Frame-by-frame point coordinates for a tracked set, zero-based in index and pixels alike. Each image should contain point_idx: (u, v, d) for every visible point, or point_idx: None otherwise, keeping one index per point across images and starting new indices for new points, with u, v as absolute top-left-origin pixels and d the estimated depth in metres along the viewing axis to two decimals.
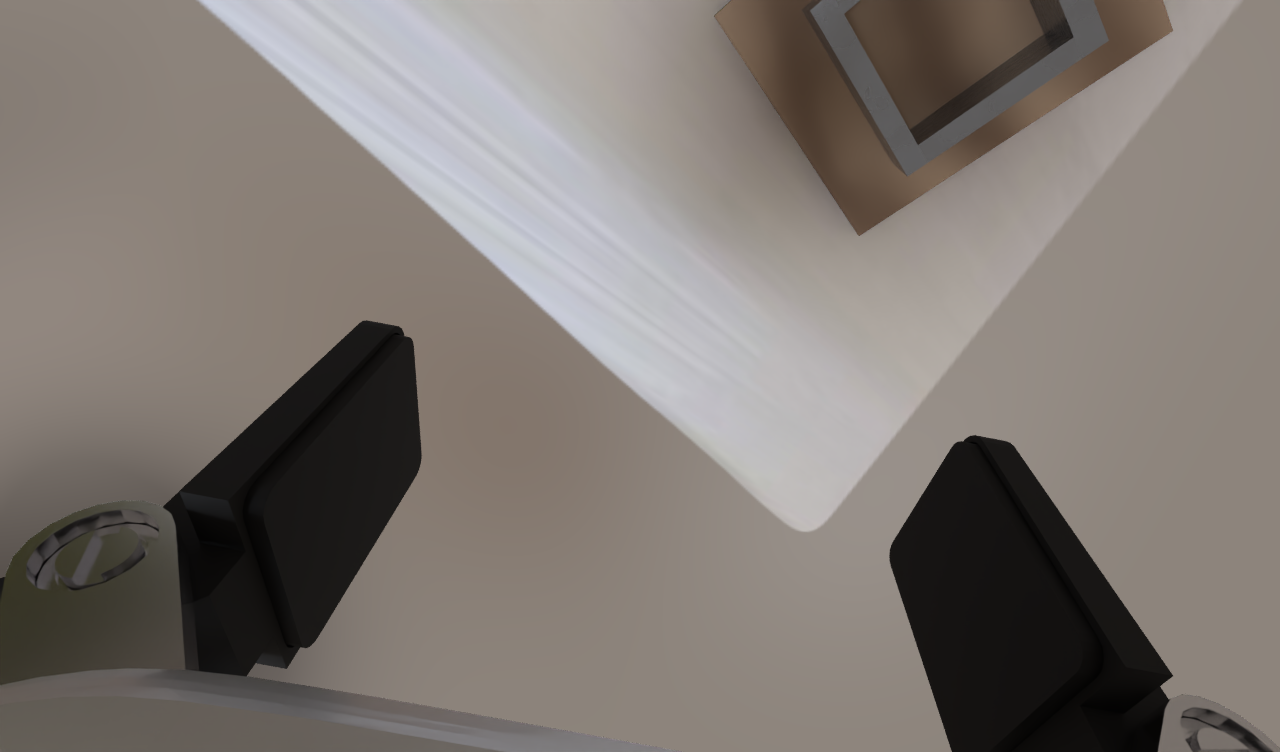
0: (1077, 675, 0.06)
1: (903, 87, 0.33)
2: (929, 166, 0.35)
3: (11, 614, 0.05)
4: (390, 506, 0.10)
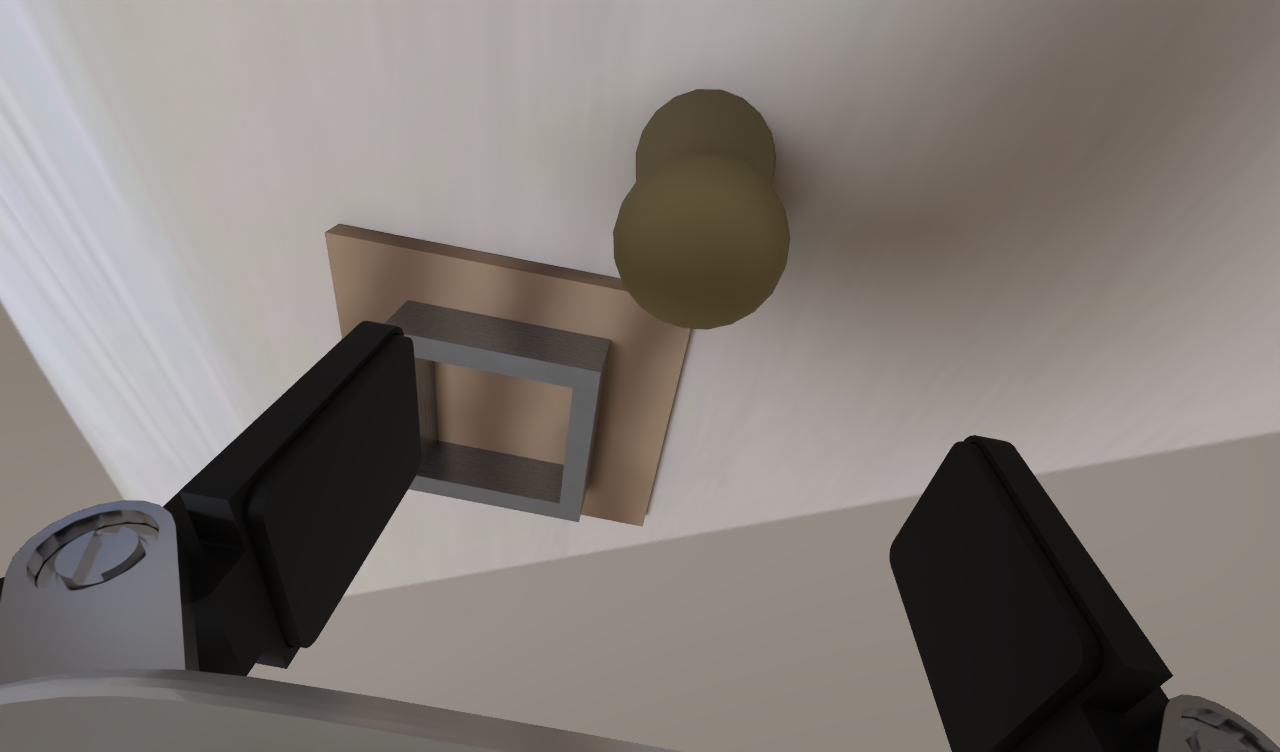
0: (1077, 675, 0.06)
1: (457, 414, 0.33)
2: None
3: (11, 614, 0.05)
4: (390, 506, 0.10)
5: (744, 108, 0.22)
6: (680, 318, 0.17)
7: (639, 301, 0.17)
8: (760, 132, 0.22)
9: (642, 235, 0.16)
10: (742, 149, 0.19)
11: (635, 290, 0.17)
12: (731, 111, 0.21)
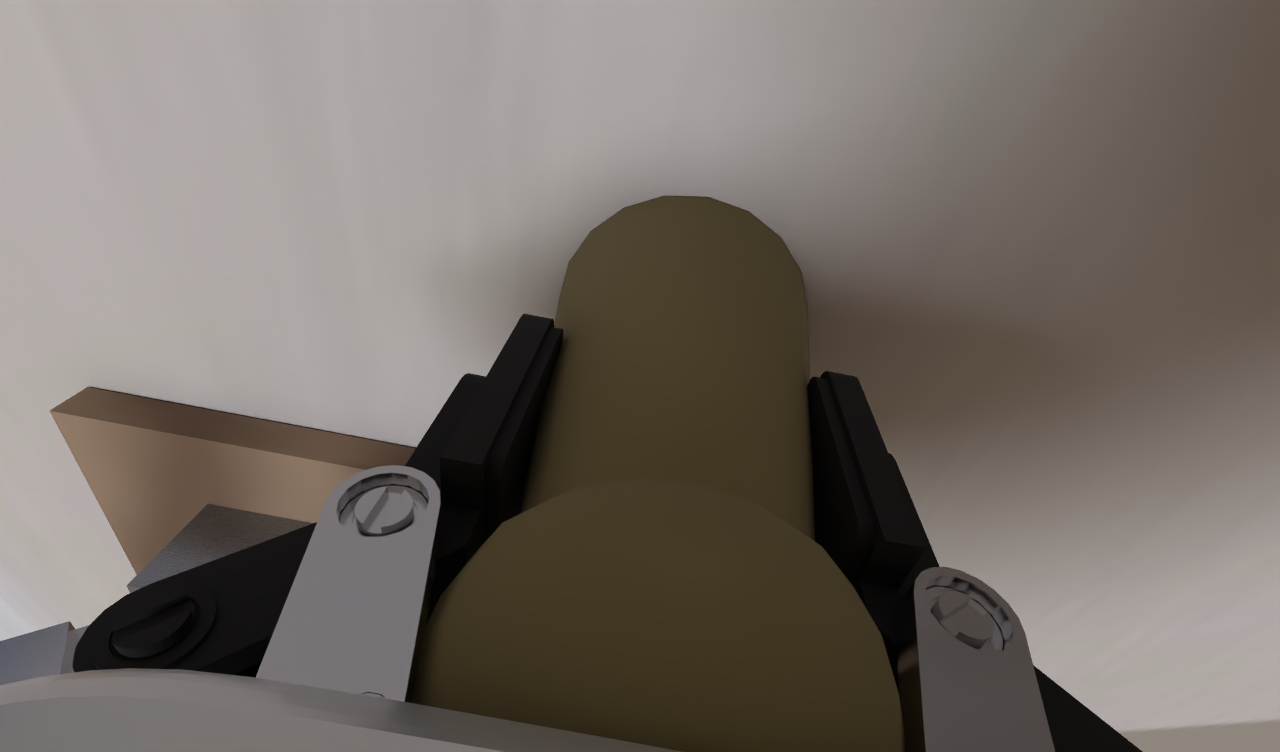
0: (856, 554, 0.07)
1: None
2: None
3: (318, 539, 0.06)
4: None
5: (753, 239, 0.12)
6: None
7: None
8: (785, 290, 0.11)
9: None
10: (755, 385, 0.08)
11: None
12: (729, 257, 0.11)
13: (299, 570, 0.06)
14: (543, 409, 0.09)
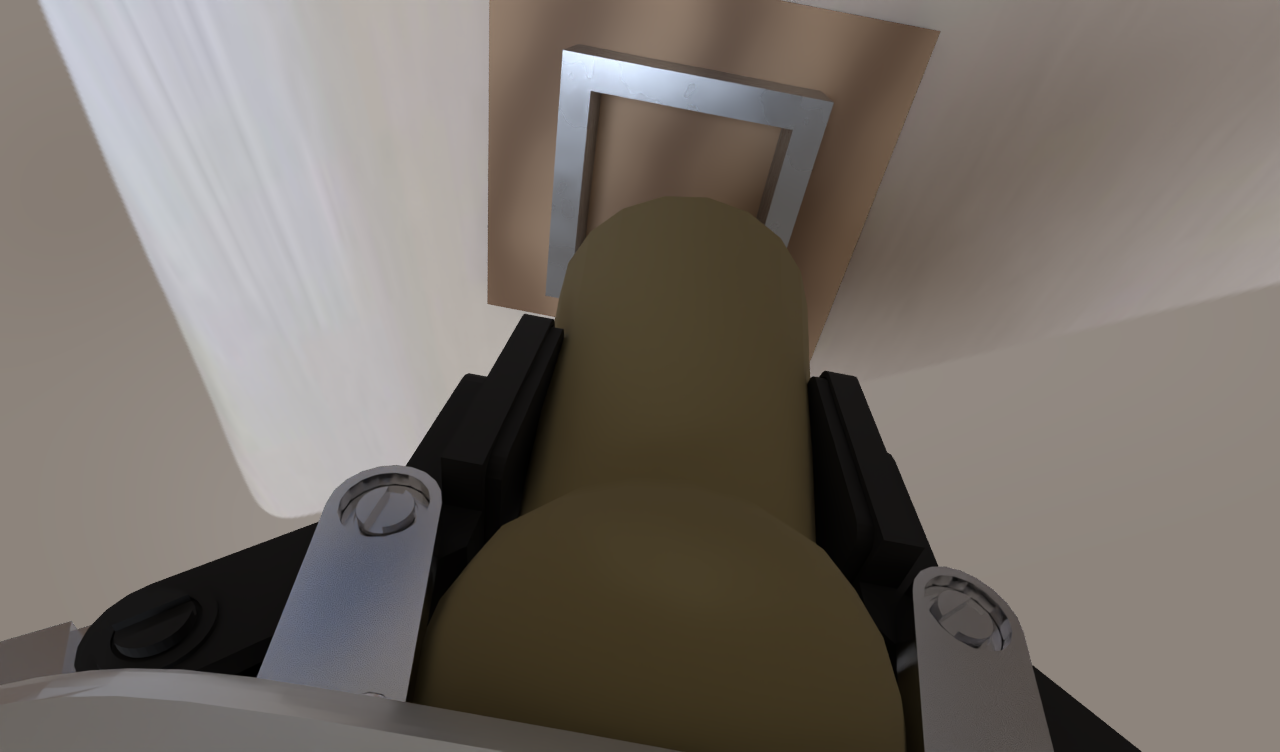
0: (855, 554, 0.07)
1: (612, 214, 0.28)
2: None
3: (320, 540, 0.06)
4: None
5: (753, 239, 0.12)
6: None
7: None
8: (785, 291, 0.11)
9: None
10: (756, 386, 0.08)
11: None
12: (729, 258, 0.11)
13: (300, 570, 0.06)
14: (543, 411, 0.09)
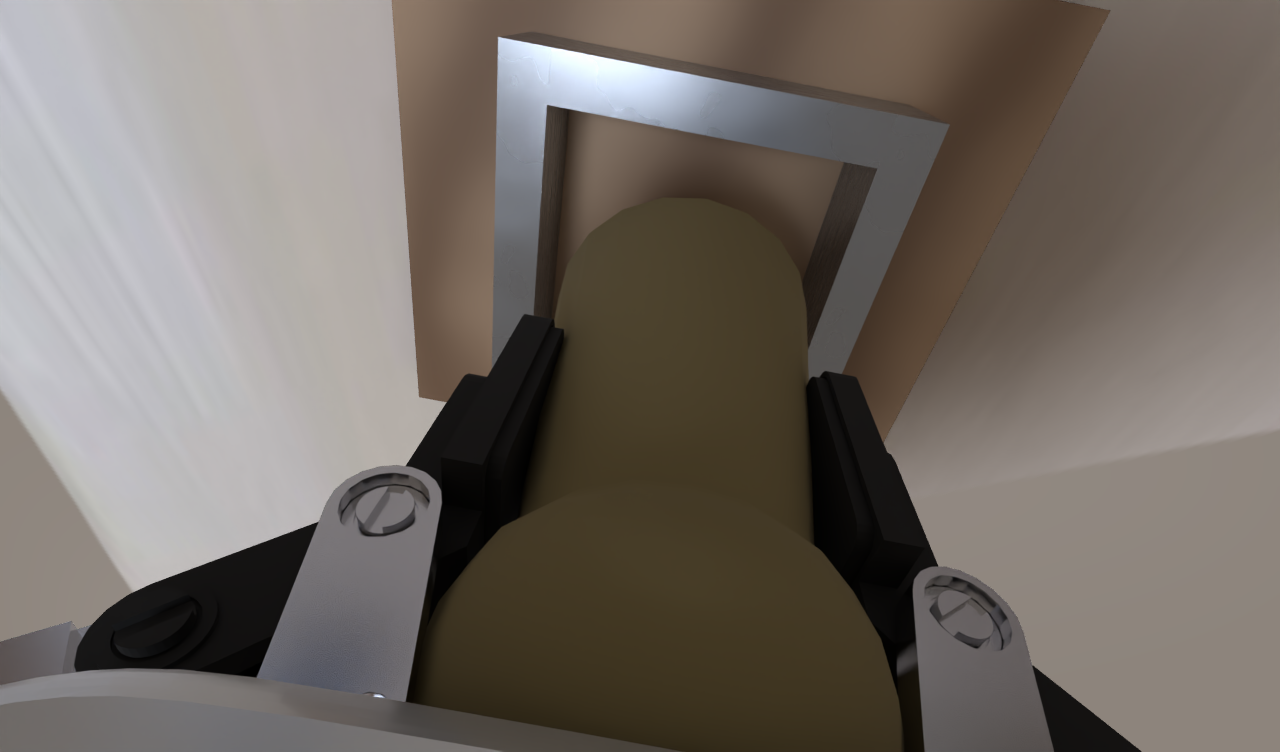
0: (855, 554, 0.07)
1: None
2: None
3: (320, 540, 0.06)
4: None
5: (752, 240, 0.12)
6: None
7: None
8: (784, 292, 0.11)
9: None
10: (754, 388, 0.08)
11: None
12: (728, 259, 0.11)
13: (301, 570, 0.06)
14: (542, 412, 0.09)
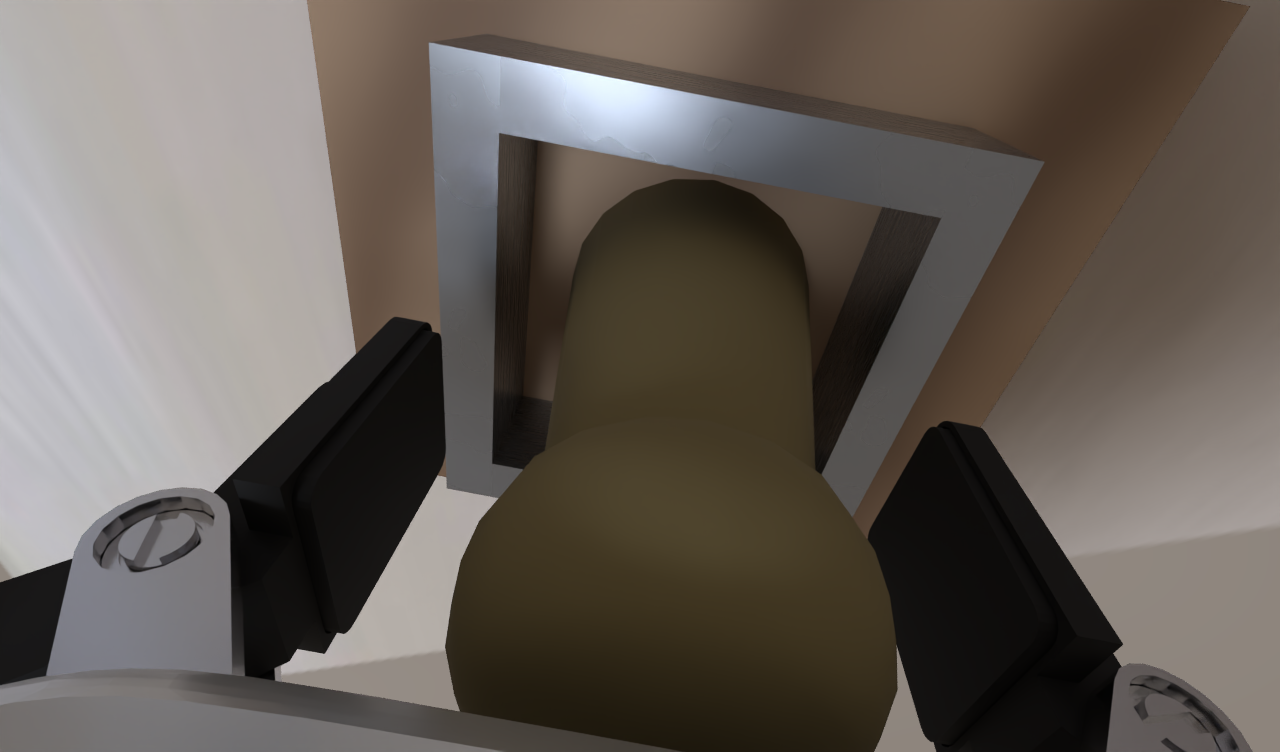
0: (1033, 646, 0.06)
1: None
2: None
3: (77, 591, 0.05)
4: (418, 498, 0.10)
5: (757, 218, 0.12)
6: None
7: None
8: (788, 265, 0.12)
9: (497, 701, 0.05)
10: (761, 344, 0.09)
11: None
12: (735, 233, 0.11)
13: (58, 630, 0.05)
14: (563, 370, 0.10)
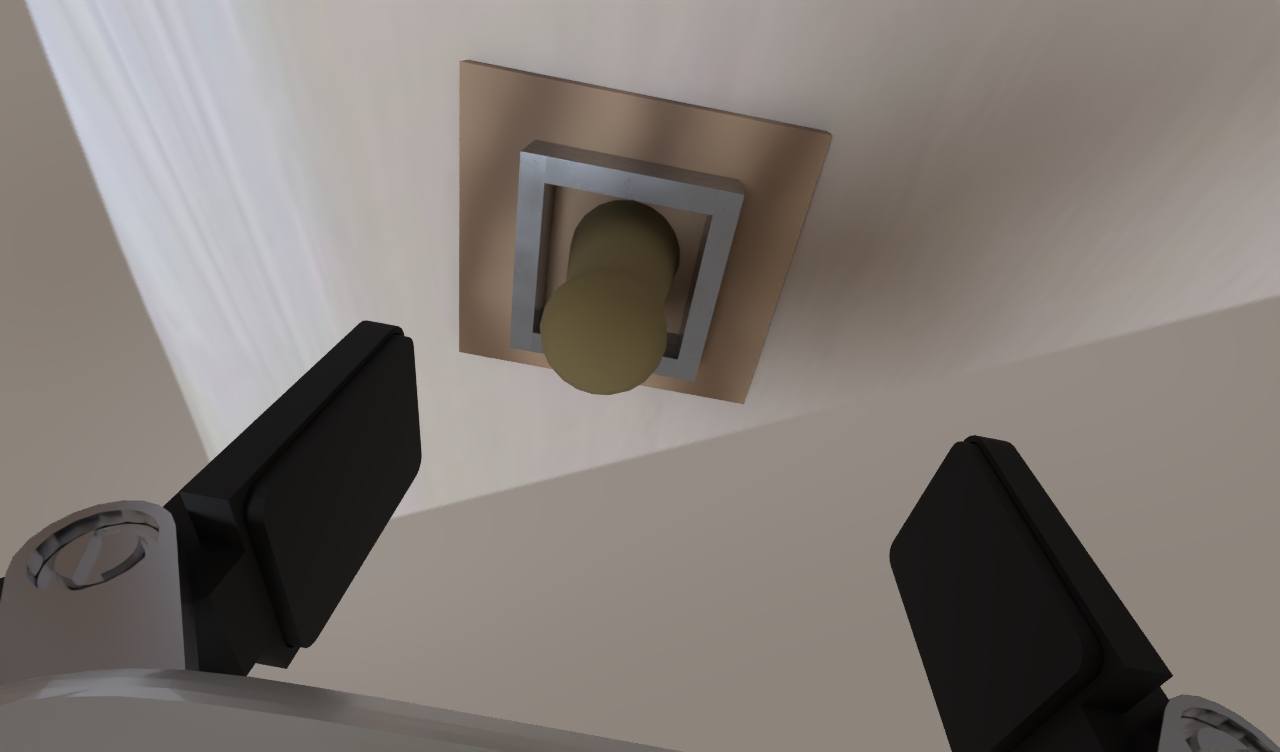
0: (1077, 675, 0.06)
1: None
2: None
3: (11, 614, 0.05)
4: (390, 506, 0.10)
5: (650, 216, 0.29)
6: (589, 387, 0.23)
7: (559, 375, 0.23)
8: (661, 236, 0.28)
9: (557, 332, 0.22)
10: (640, 258, 0.25)
11: (555, 368, 0.23)
12: (638, 222, 0.28)
13: None
14: (569, 271, 0.26)
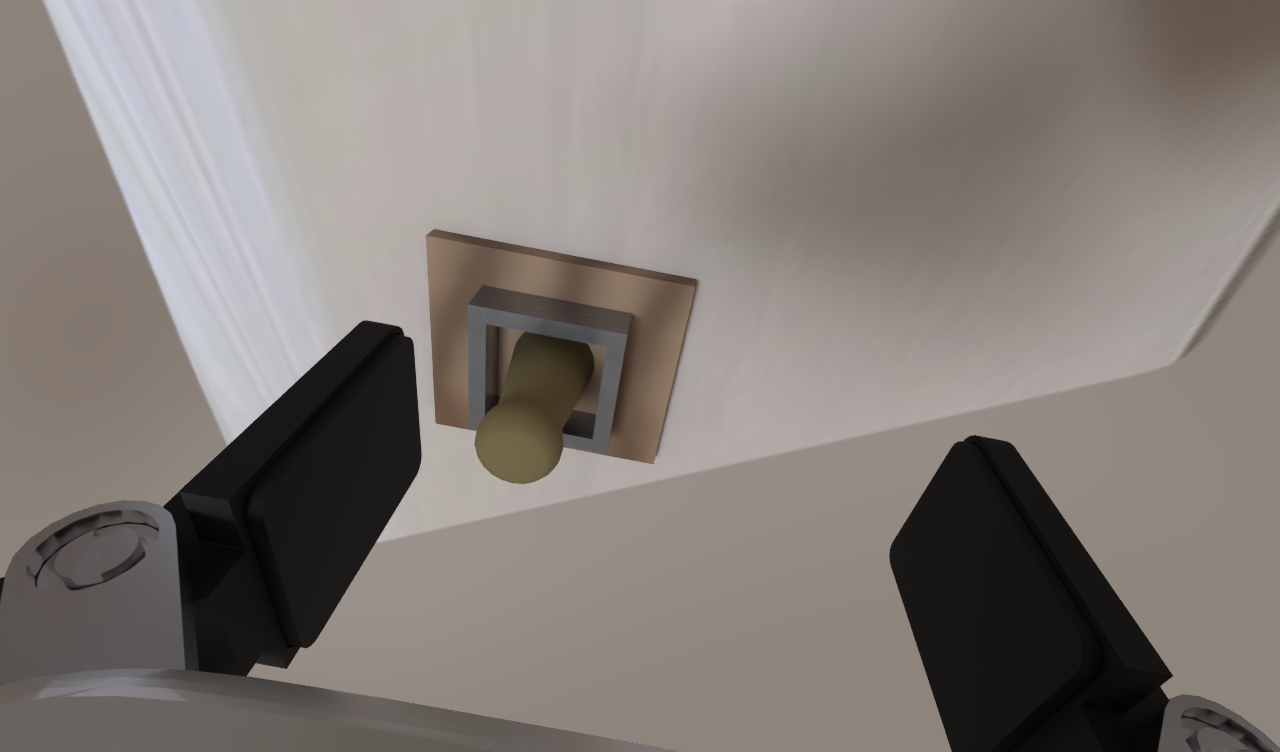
0: (1076, 675, 0.06)
1: None
2: None
3: (11, 614, 0.05)
4: (390, 506, 0.10)
5: None
6: (509, 480, 0.34)
7: (489, 471, 0.34)
8: (574, 355, 0.39)
9: (484, 447, 0.33)
10: (550, 382, 0.36)
11: (485, 467, 0.34)
12: (556, 347, 0.38)
13: None
14: (503, 388, 0.37)
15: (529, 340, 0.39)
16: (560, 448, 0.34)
